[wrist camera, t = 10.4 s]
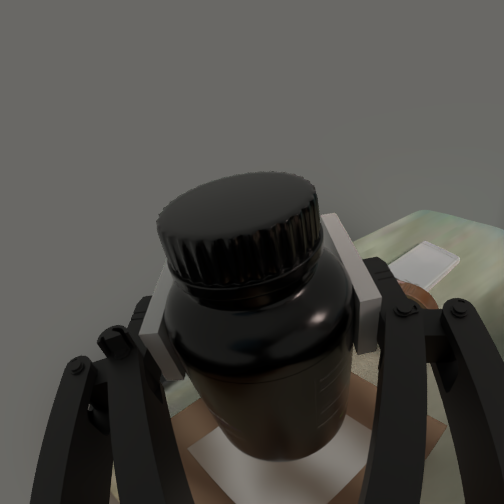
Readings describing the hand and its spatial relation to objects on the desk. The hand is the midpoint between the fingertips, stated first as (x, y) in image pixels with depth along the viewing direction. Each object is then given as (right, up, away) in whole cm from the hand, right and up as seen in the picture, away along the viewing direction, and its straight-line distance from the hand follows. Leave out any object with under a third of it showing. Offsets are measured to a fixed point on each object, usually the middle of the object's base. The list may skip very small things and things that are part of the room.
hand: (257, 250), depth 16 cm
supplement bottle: (+1, -9, -1) cm, 9 cm away
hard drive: (+27, -3, +29) cm, 40 cm away
